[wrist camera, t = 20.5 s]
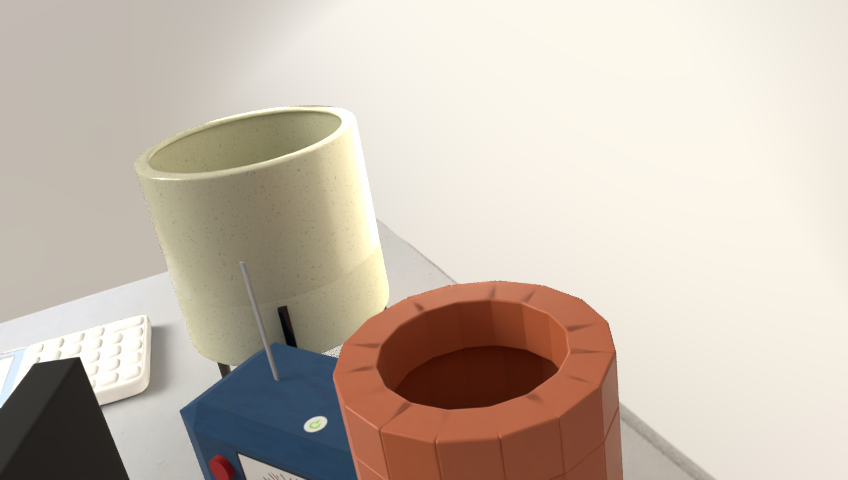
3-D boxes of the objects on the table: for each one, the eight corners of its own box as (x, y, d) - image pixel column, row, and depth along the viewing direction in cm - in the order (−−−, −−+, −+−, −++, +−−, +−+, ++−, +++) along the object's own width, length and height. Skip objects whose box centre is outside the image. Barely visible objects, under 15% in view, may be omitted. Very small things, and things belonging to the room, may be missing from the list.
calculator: (151, 392, 67) (145, 375, 66) (-94, 465, 63) (-104, 447, 62) (153, 324, 79) (148, 308, 78) (-53, 381, 74) (-61, 365, 74)
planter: (274, 347, 71) (207, 110, 61) (432, 357, 65) (387, 98, 56) (178, 458, 58) (75, 180, 48) (365, 483, 52) (291, 174, 43)
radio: (213, 559, 49) (108, 289, 40) (302, 471, 55) (228, 222, 47) (496, 705, 37) (430, 366, 29) (569, 571, 43) (531, 263, 35)
